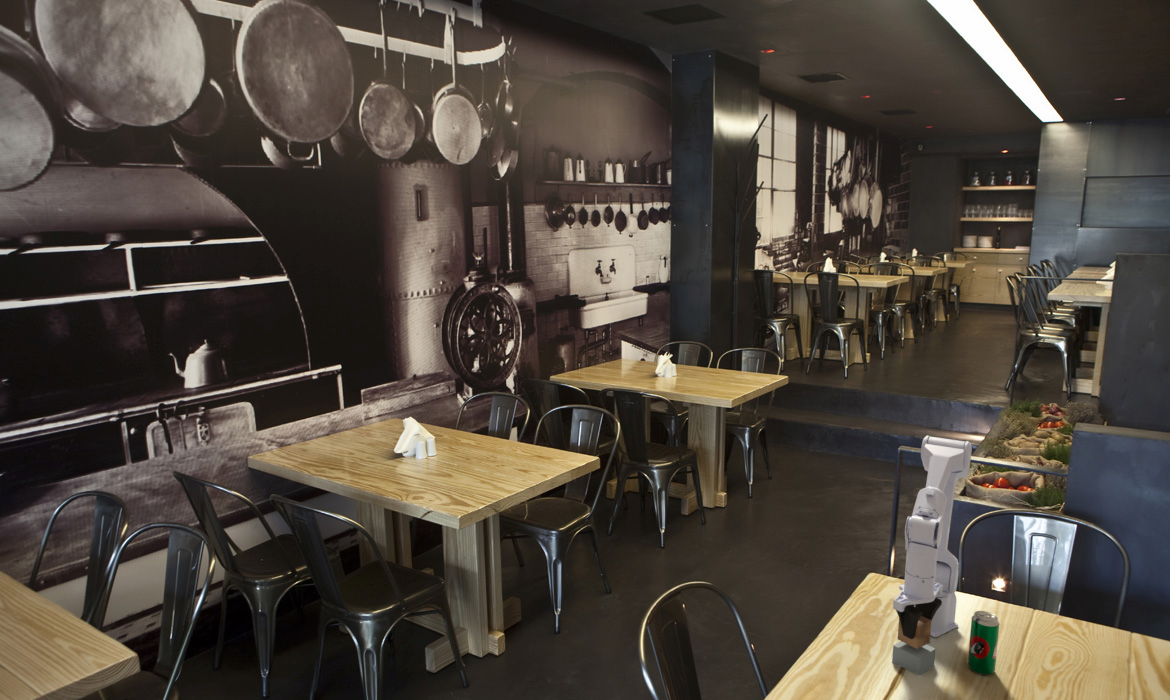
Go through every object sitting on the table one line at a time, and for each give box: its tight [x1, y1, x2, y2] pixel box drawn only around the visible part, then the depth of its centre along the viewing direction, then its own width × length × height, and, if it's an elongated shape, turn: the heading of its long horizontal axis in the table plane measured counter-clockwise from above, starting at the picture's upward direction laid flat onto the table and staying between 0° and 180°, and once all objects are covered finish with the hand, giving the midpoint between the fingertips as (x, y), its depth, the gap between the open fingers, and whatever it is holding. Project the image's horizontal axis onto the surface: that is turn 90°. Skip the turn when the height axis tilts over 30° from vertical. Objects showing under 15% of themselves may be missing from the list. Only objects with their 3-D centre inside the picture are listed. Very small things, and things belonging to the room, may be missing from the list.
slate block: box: [891, 640, 936, 676], centre depth 156 cm, size 6×6×4 cm
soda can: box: [967, 610, 1000, 676], centre depth 154 cm, size 5×5×12 cm
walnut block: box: [897, 616, 932, 649], centre depth 156 cm, size 4×4×5 cm
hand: (915, 633), depth 156 cm, fingers closed on walnut block, 4 cm apart
